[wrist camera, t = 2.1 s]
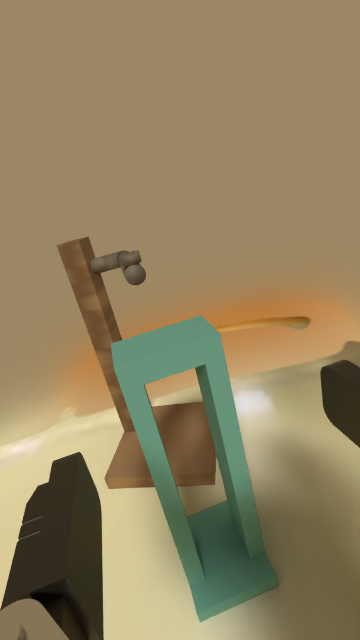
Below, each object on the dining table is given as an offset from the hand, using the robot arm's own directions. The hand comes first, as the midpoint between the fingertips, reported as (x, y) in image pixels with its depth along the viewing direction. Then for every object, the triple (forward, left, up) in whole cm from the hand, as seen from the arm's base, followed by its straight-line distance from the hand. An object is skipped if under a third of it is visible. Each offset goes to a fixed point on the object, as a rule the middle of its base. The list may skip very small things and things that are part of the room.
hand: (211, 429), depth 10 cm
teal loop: (-3, -9, -20) cm, 22 cm away
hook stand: (-5, -23, -20) cm, 31 cm away
